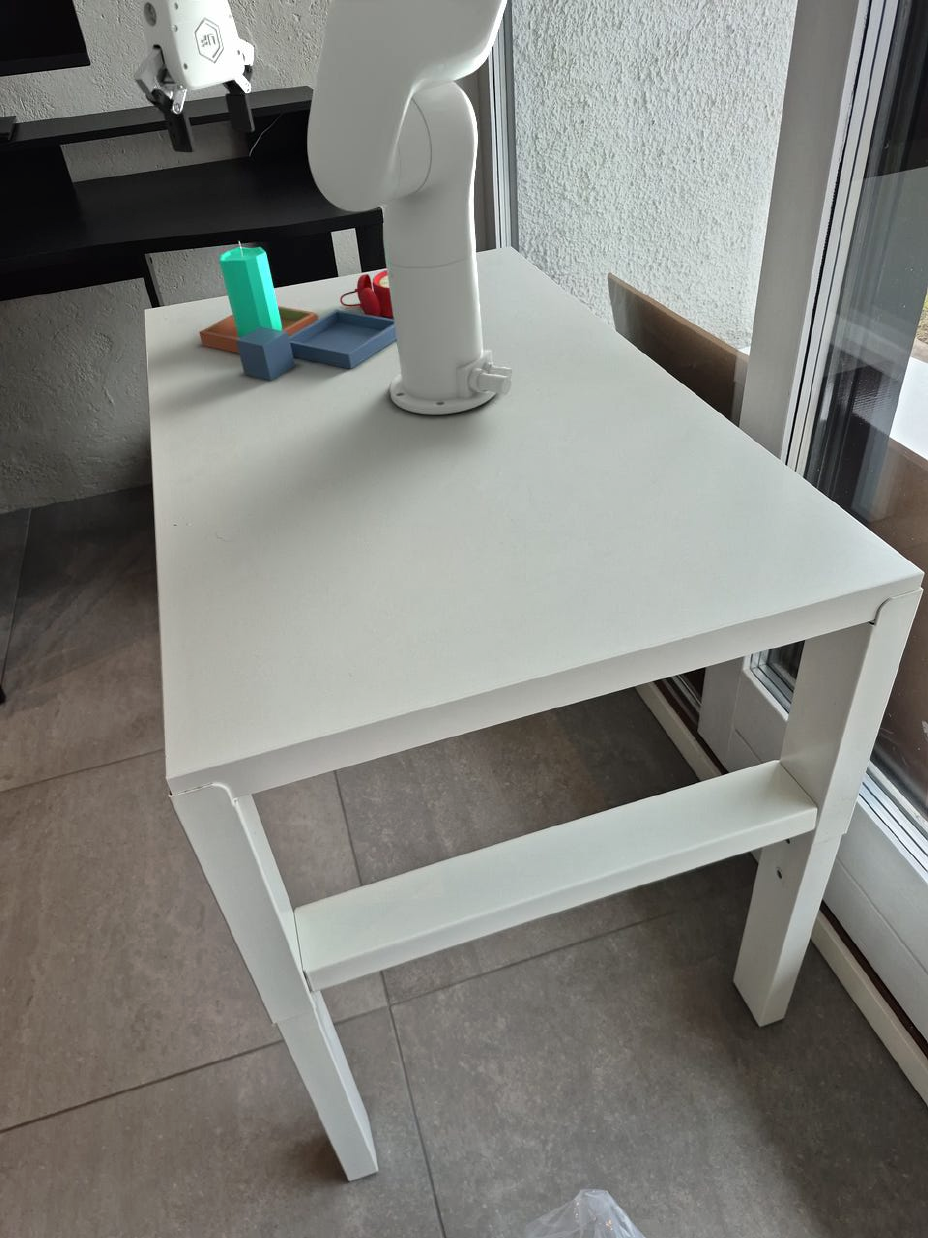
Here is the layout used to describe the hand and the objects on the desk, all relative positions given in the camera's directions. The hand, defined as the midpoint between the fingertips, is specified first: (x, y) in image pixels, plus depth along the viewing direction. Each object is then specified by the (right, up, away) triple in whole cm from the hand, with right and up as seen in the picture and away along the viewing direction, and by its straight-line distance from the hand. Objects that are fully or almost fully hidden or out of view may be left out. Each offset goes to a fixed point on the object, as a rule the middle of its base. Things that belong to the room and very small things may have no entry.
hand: (215, 140), depth 107 cm
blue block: (+5, -25, +6) cm, 27 cm away
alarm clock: (+20, -13, +19) cm, 31 cm away
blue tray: (+14, -21, +11) cm, 27 cm away
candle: (+2, -18, +15) cm, 24 cm away
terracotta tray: (+2, -18, +15) cm, 24 cm away
